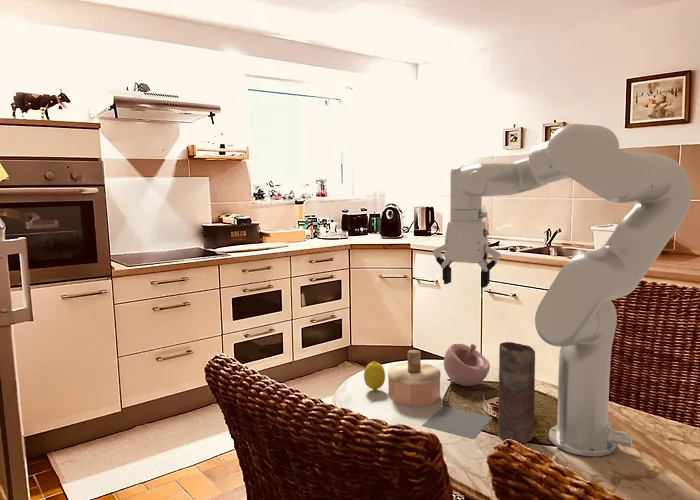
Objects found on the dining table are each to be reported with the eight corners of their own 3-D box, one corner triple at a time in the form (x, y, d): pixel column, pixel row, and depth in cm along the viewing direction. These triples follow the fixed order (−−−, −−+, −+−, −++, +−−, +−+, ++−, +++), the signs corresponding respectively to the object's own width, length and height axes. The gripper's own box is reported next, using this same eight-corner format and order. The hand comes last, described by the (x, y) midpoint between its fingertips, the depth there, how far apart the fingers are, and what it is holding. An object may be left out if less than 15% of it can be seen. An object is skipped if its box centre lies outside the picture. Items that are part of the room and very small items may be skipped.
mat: (492, 419, 121) (492, 417, 121) (473, 441, 111) (473, 438, 111) (443, 408, 128) (443, 406, 128) (421, 427, 118) (421, 425, 118)
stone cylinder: (504, 426, 117) (506, 338, 115) (538, 435, 113) (540, 343, 111) (492, 440, 111) (493, 347, 109) (527, 449, 107) (529, 353, 105)
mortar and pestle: (481, 396, 134) (481, 352, 133) (436, 388, 140) (436, 346, 139) (495, 381, 144) (495, 340, 143) (453, 373, 150) (453, 334, 149)
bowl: (445, 394, 136) (445, 371, 135) (425, 411, 126) (425, 387, 125) (404, 385, 143) (403, 363, 142) (381, 401, 133) (381, 377, 132)
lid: (448, 371, 135) (448, 348, 135) (426, 388, 125) (426, 363, 124) (403, 363, 142) (403, 341, 142) (378, 378, 132) (378, 354, 131)
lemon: (385, 386, 142) (385, 357, 141) (384, 394, 137) (384, 364, 136) (365, 386, 143) (364, 357, 142) (363, 394, 137) (362, 364, 136)
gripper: (505, 216, 129) (504, 285, 131) (439, 215, 139) (439, 279, 141) (495, 218, 123) (494, 290, 125) (427, 217, 132) (427, 284, 134)
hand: (465, 285), depth 133 cm, fingers open, 9 cm apart
